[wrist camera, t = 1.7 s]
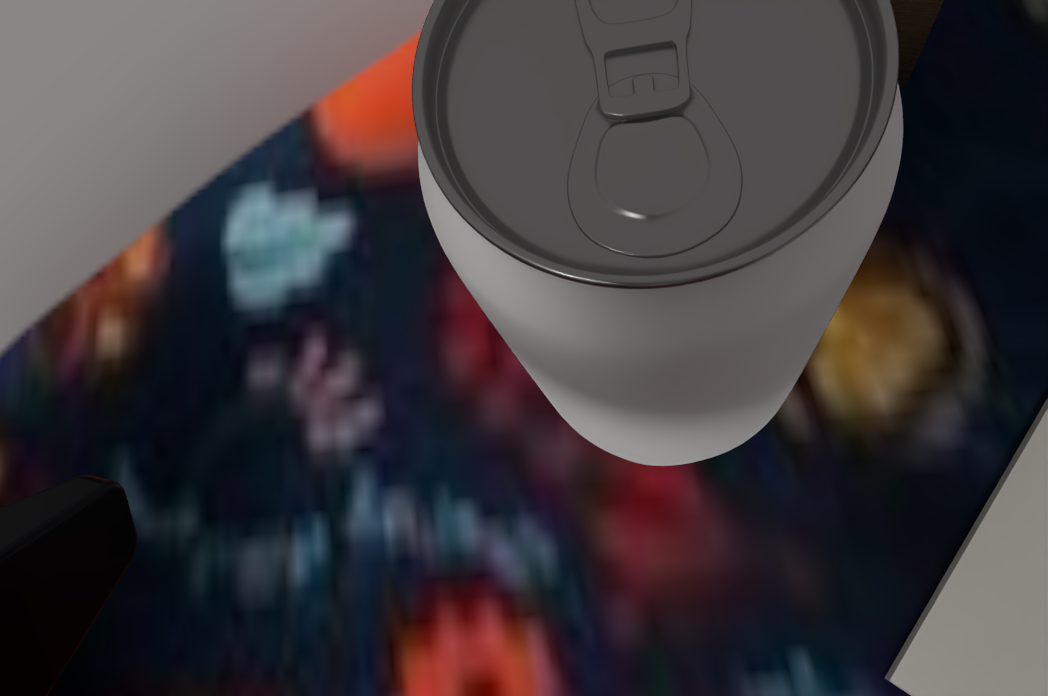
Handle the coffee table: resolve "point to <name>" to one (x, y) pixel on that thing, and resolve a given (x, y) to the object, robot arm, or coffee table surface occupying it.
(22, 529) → the robot arm
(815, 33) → the can
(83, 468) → the coffee table surface
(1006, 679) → the pad
